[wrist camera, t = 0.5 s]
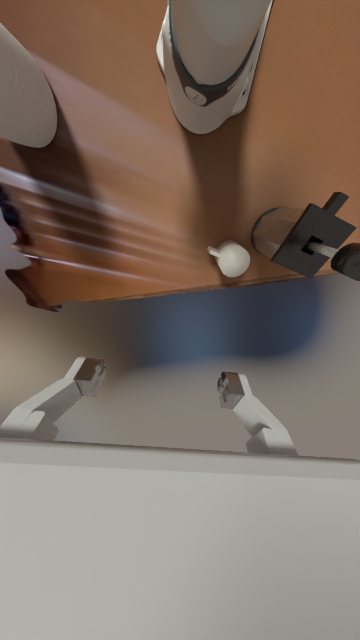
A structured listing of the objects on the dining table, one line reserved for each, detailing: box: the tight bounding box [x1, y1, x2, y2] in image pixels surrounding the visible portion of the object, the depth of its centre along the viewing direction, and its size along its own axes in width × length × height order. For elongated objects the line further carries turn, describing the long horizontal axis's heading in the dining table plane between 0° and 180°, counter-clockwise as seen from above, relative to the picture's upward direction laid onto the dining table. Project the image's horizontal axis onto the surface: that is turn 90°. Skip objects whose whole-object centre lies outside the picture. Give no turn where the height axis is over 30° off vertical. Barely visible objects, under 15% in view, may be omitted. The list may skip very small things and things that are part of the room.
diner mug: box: [207, 240, 250, 277], centre depth 47 cm, size 8×11×9 cm
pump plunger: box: [303, 240, 360, 281], centre depth 31 cm, size 4×4×21 cm
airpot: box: [251, 192, 356, 278], centre depth 39 cm, size 15×12×18 cm
